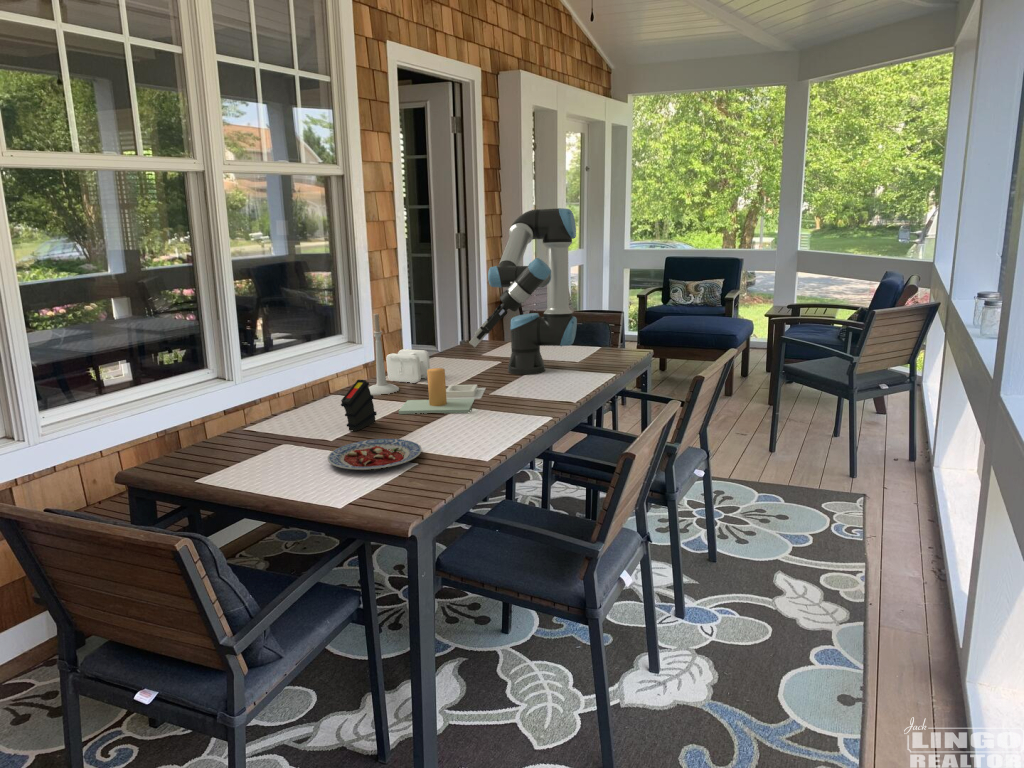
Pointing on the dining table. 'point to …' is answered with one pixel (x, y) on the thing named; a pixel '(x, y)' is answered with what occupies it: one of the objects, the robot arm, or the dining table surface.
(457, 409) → the sage board
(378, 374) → the candlestick
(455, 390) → the base
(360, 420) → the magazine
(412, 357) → the cable organizer
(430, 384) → the orange plug
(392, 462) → the ceramic plate
